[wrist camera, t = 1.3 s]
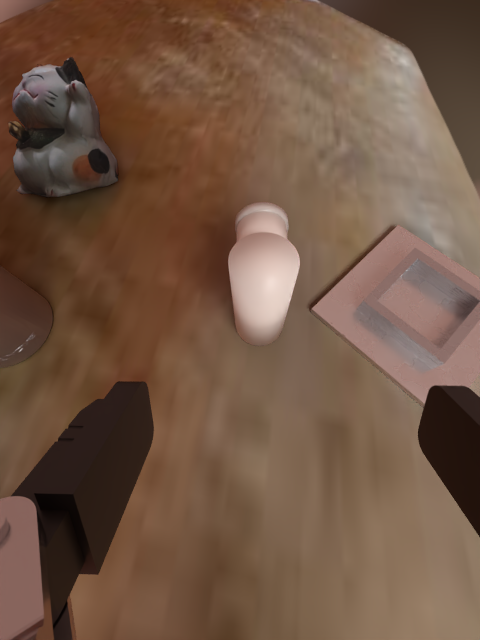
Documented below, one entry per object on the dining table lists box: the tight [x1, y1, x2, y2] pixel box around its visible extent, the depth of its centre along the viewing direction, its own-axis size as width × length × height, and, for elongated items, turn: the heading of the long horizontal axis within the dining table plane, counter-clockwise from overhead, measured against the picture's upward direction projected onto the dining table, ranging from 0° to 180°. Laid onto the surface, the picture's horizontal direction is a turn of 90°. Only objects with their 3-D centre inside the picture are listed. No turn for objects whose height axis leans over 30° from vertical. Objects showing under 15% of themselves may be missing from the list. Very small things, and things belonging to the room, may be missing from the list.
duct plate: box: [310, 225, 480, 408], centre depth 31 cm, size 16×16×3 cm
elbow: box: [228, 202, 300, 346], centre depth 28 cm, size 9×5×12 cm, turn 179°
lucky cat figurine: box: [9, 57, 118, 197], centre depth 37 cm, size 15×12×14 cm
